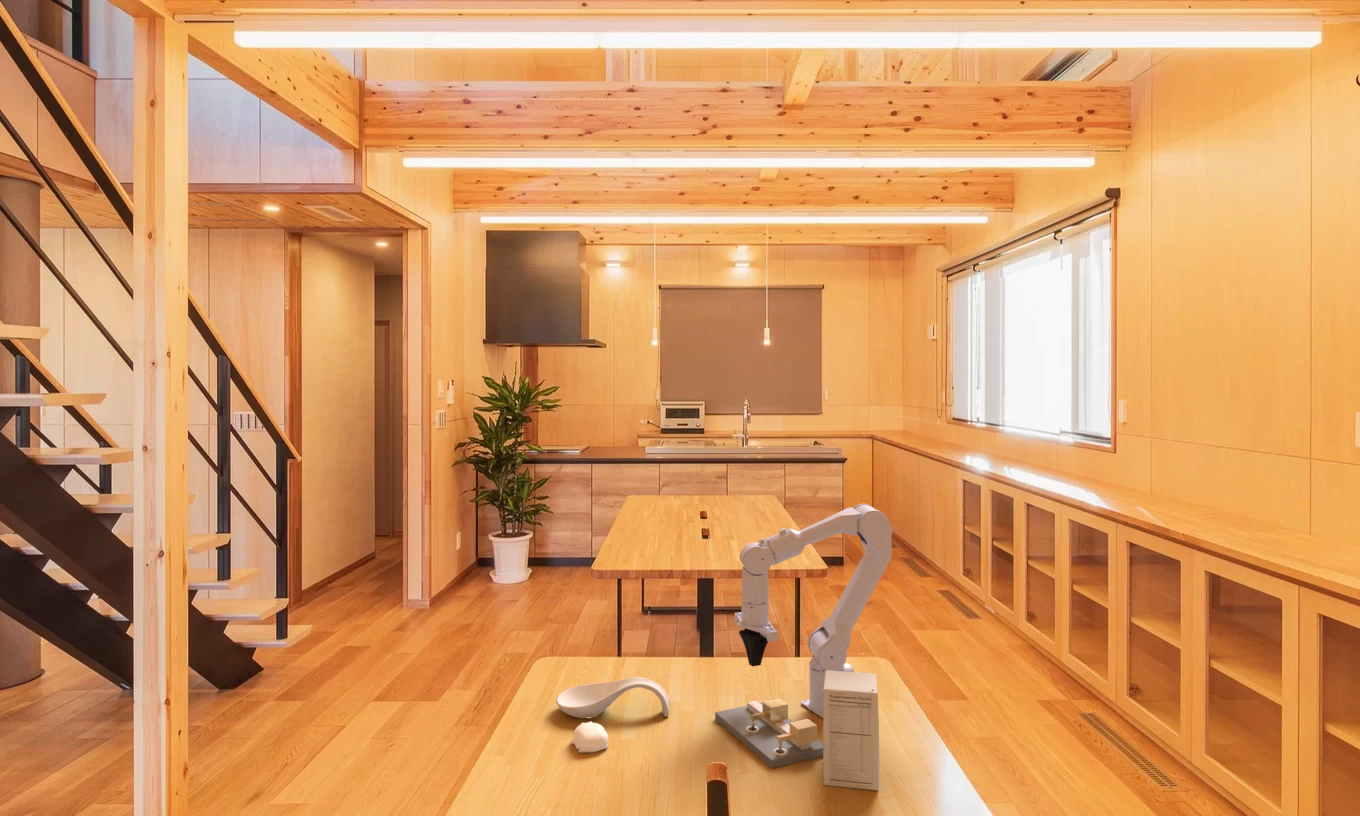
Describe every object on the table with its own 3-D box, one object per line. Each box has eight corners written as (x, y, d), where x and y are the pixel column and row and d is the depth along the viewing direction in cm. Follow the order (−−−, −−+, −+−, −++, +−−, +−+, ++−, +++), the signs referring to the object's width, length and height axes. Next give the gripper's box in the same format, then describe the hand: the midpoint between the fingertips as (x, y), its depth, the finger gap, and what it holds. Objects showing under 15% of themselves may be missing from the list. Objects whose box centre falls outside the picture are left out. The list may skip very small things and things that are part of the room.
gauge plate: (765, 708, 160) (765, 682, 160) (827, 754, 140) (827, 724, 140) (715, 719, 155) (715, 691, 155) (771, 768, 135) (771, 737, 135)
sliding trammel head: (779, 719, 151) (779, 698, 151) (787, 725, 149) (787, 704, 149) (747, 726, 148) (747, 705, 148) (754, 732, 146) (754, 711, 145)
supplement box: (878, 765, 136) (878, 672, 136) (879, 792, 127) (880, 693, 127) (824, 759, 139) (824, 668, 138) (822, 785, 130) (822, 688, 129)
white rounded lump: (568, 739, 147) (568, 720, 147) (602, 733, 150) (601, 714, 149) (577, 758, 140) (577, 738, 140) (613, 751, 142) (613, 731, 142)
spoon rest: (551, 725, 153) (551, 690, 153) (561, 701, 165) (561, 668, 165) (668, 726, 153) (668, 691, 153) (670, 702, 165) (670, 669, 164)
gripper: (722, 594, 165) (722, 656, 165) (756, 612, 151) (756, 679, 152) (750, 590, 168) (750, 651, 168) (786, 608, 154) (786, 674, 155)
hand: (755, 664), depth 160 cm, fingers closed
